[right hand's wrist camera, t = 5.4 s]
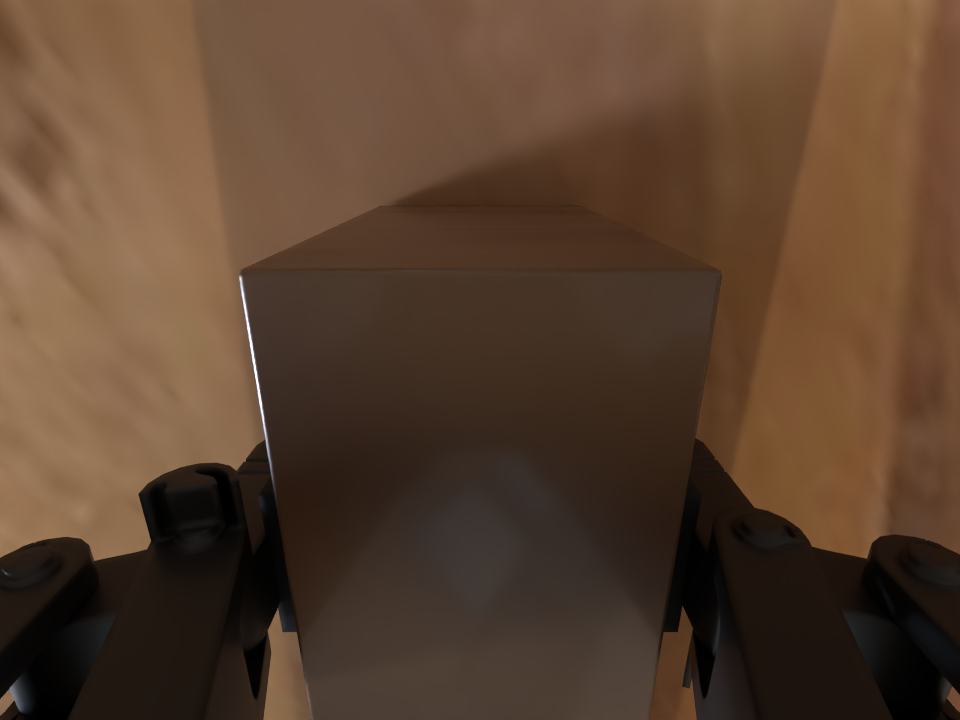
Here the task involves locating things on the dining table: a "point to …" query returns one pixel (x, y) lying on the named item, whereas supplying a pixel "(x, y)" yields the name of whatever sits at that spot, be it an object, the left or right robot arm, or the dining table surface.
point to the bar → (480, 456)
